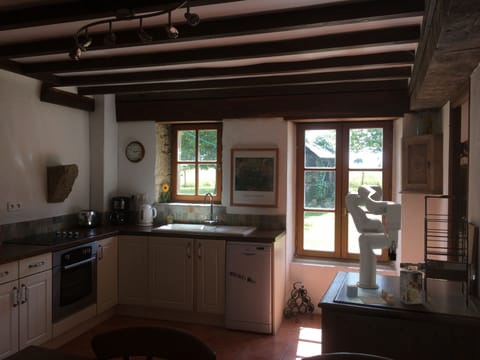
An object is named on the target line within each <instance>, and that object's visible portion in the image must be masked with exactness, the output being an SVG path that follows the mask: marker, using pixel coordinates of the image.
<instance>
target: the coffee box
mask: <svg viewBox="0 0 480 360" xmlns="http://www.w3.org/2000/svg"><path fill="white" fill-rule="evenodd" d="M399 301H400V302H402V303H404V304H406V305H414V304H416V305H417V304H422V303H423V272H422V271H421V272H420V271H419V270H415V269H412V270H411V269H409V270H399Z"/></svg>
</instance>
